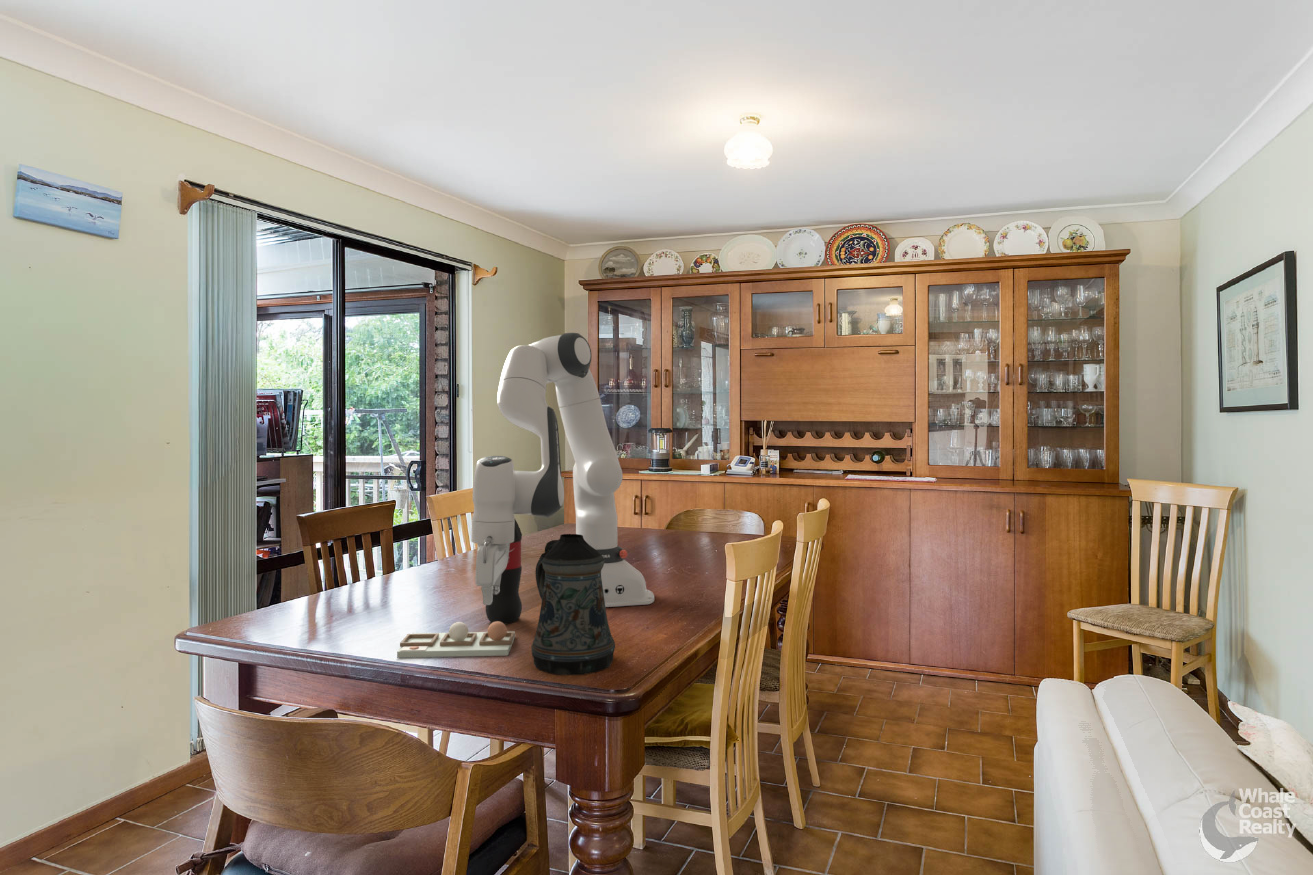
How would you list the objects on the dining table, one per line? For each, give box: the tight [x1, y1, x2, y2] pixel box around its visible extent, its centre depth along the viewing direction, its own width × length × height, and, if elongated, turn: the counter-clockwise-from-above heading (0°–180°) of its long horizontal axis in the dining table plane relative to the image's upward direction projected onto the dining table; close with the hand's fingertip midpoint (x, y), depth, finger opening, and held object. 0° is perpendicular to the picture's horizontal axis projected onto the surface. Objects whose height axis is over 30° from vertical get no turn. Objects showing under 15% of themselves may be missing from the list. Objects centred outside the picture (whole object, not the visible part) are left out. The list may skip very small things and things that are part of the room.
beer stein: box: [530, 533, 616, 676], centre depth 150 cm, size 16×19×25 cm
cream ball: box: [448, 621, 469, 641], centre depth 159 cm, size 4×4×4 cm
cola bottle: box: [485, 518, 523, 625], centre depth 179 cm, size 8×8×30 cm
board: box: [396, 631, 516, 659], centre depth 159 cm, size 22×13×2 cm, turn 95°
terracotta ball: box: [487, 621, 508, 641], centre depth 160 cm, size 4×4×4 cm
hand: (491, 598), depth 160 cm, fingers open, 8 cm apart
